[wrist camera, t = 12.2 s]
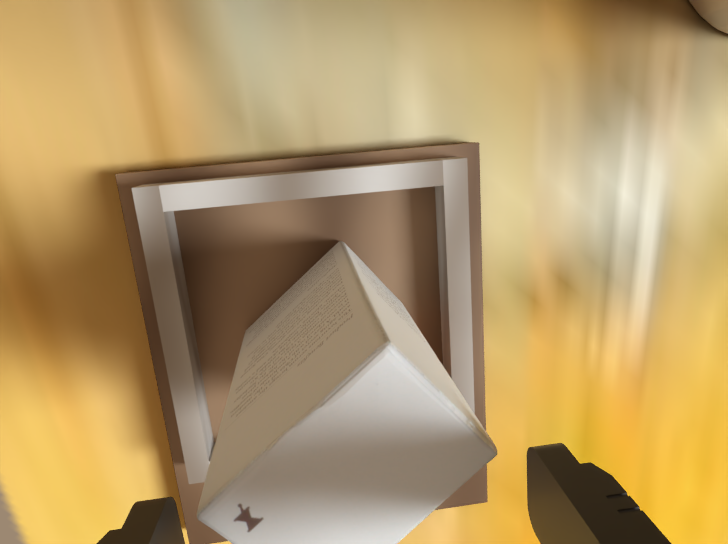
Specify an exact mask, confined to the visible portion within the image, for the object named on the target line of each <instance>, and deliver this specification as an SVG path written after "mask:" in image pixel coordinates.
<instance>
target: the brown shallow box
mask: <svg viewBox="0 0 728 544" xmlns="http://www.w3.org/2000/svg"><path fill="white" fill-rule="evenodd" d="M115 176H116V181H117V186H118V191H119V196H120V201H121V206H122V211H123V216H124V221H125V226H126V231H127V236H128V241H129V246H130V251H131V256H132V261H133V266H134V271H135V276H136V280H137V285H138V290H139V295H140V300H141V305H142V310H143V315H144V320H145V325H146V330H147V335H148V340H149V345H150V350H151V355H152V360H153V365H154V370H155V375H156V380H157V385H158V390H159V395H160V400H161V405H162V410H163V415H164V420H165V425H166V430H167V435H168V440H169V445H170V450H171V455H172V460H173V465H174V470H175V475H176V479H177V484H178V489H179V494H180V499H181V504H182V509H183V514H184V519H185V524H186V529H187V534H188V539H189V544H211V543H217V542H224V541H228V540H227V539H225V538H224V537H223V536H221V535H220V534H218V533H217V532H215V531H214V530H213V529H211V528H210V527H208V526H207V525H206V524H204V523H202V522H201V521H199V520H198V519H197V510H198V506H199V502H200V498H201V495H202V491H203V487H204V483H205V479H206V475H207V471H208V468H209V464H210V460H211V457H212V453H213V450H214V446H215V443H216V439H217V435H218V432H219V428H220V424H221V421H222V417H223V413H224V409H225V406H226V402H227V398H228V395H229V391H230V387H231V384H232V380H233V376H234V372H235V368H236V364H237V360H238V356H239V353H240V349H241V346H242V342H243V338H244V335H245V331H246V330H247V329H248V328H249V327H250V326H251V325H252V324H253V323H254V322H255V321H256V320H257V319H258V318H259V317H260V316H261V315H262V314H263V313H265V312H266V311H267V310H268V309H269V308H270V307H271V306H272V305H273V304H274V303H275V302H276V301H277V300H278V299H279V298H280V297H281V296H282V295H283V294H284V293H285V292H286V291H288V290H289V289H290V288H291V287H292V286H293V285H294V284H295V283H296V282H297V281H298V280H299V279H300V278H301V277H302V276H303V275H304V274H305V273H306V272H307V271H308V270H309V269H311V268H312V267H313V266H314V265H315V264H316V263H317V262H318V261H319V260H320V259H321V258H322V257H323V256H324V255H325V254H326V253H327V252H328V251H329V250H330V249H332V248H333V247H334V246H335V245H336V244H337V243H338V242H339V241H342V242H344V243H345V244H346V245H347V246H348V247H349V248H350V249H351V250H352V251H353V252H354V253H355V254H356V255H357V256H358V257H359V258H360V259H361V260H362V261H363V262H364V264H365V265H366V266H367V267H368V268H369V269H370V270H371V271H372V272H373V273H374V274H375V275H376V276H377V277H378V278H379V279H380V281H381V282H382V283H383V284H384V285H385V286H386V287H387V288H388V289H389V290H390V291H391V292H392V293H393V294H394V295H395V296H396V297H397V298H398V299H399V300H400V301H401V302H402V304H403V305H404V307H405V308H406V310H407V311H408V313H409V314H410V316H411V317H412V319H413V321H414V322H415V324H416V325H417V327H418V328H419V330H420V331H421V333H422V334H423V336H424V337H425V339H426V341H427V342H428V344H429V345H430V347H431V348H432V350H433V351H434V353H435V354H436V356H437V358H438V359H439V361H440V362H441V364H442V365H443V367H444V368H445V370H446V371H447V373H448V374H449V376H450V377H451V379H452V380H453V382H454V383H455V385H456V387H457V388H458V389H459V391H460V392H461V394H462V396H463V397H464V399H465V400H466V402H467V403H468V405H469V407H470V408H471V410H472V411H473V413H474V414H475V416H476V417H477V418H478V420H479V422H480V423H481V425H482V426H483V428H484V429H485V431H486V418H485V375H484V332H483V289H482V246H481V203H480V160H479V143H473V142H470V143H458V144H447V145H435V146H424V147H412V148H400V149H389V150H377V151H366V152H354V153H343V154H331V155H320V156H308V157H297V158H285V159H274V160H262V161H251V162H239V163H228V164H216V165H205V166H193V167H182V168H170V169H159V170H147V171H136V172H125V173H119V174H115ZM484 502H487V464H486V465H485V466H483V467H482V468H481V469H480V470H479V471H478V472H476V473H475V474H474V475H473V476H472V477H471V478H470V479H469V480H468V481H466V482H465V483H464V484H463V485H462V486H461V487H460V488H459V489H457V490H456V491H455V492H454V493H453V494H452V495H451V496H450V497H448V498H447V499H446V500H445V501H444V502H443V503H442V504H441V505H439V506H438V507H437V508H436V509H435V510H438V509H444V508H451V507H458V506H464V505H471V504H478V503H484Z"/></svg>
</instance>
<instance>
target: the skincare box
mask: <svg viewBox="0 0 728 544" xmlns="http://www.w3.org/2000/svg"><path fill="white" fill-rule="evenodd" d="M496 455H497V449H496V447H495V445H494V443H493V441H492V440H491V438H490V437H489V435H488V434H487V432H486V431H485V429H484V428H483V426H482V425H481V423H480V422H479V420H478V418H477V417H476V416H475V414H474V413H473V411H472V410H471V408H470V407H469V405H468V403H467V402H466V400H465V399H464V397H463V396H462V394H461V392H460V391H459V389H458V388H457V387H456V385H455V383H454V382H453V380H452V379H451V377H450V376H449V374H448V373H447V371H446V370H445V368H444V367H443V365H442V364H441V362H440V361H439V359H438V358H437V356H436V354H435V353H434V351H433V350H432V348H431V347H430V345H429V344H428V342H427V341H426V339H425V337H424V336H423V334H422V333H421V331H420V330H419V328H418V327H417V325H416V324H415V322H414V321H413V319H412V317H411V316H410V314H409V313H408V311H407V310H406V308H405V307H404V305H403V304H402V302H401V301H400V300H399V299H398V298H397V297H396V296H395V295H394V294H393V293H392V292H391V291H390V290H389V289H388V288H387V287H386V286H385V285H384V284H383V283H382V282H381V281H380V279H379V278H378V277H377V276H376V275H375V274H374V273H373V272H372V271H371V270H370V269H369V268H368V267H367V266H366V265H365V264H364V262H363V261H362V260H361V259H360V258H359V257H358V256H357V255H356V254H355V253H354V252H353V251H352V250H351V249H350V248H349V247H348V246H347V245H346V244H345V243H344V242H342V241H339V242H338V243H337V244H336V245H335V246H334V247H333V248H332V249H330V250H329V251H328V252H327V253H326V254H325V255H324V256H323V257H322V258H321V259H320V260H319V261H318V262H317V263H316V264H315V265H314V266H313V267H312V268H311V269H309V270H308V271H307V272H306V273H305V274H304V275H303V276H302V277H301V278H300V279H299V280H298V281H297V282H296V283H295V284H294V285H293V286H292V287H291V288H290V289H289V290H288V291H286V292H285V293H284V294H283V295H282V296H281V297H280V298H279V299H278V300H277V301H276V302H275V303H274V304H273V305H272V306H271V307H270V308H269V309H268V310H267V311H266V312H265V313H263V314H262V315H261V316H260V317H259V318H258V319H257V320H256V321H255V322H254V323H253V324H252V325H251V326H250V327H249V328H248V329H247V330H246V331H245V335H244V338H243V342H242V346H241V349H240V353H239V356H238V360H237V364H236V368H235V372H234V376H233V380H232V384H231V387H230V391H229V395H228V398H227V402H226V406H225V409H224V413H223V417H222V421H221V424H220V428H219V432H218V435H217V439H216V443H215V446H214V450H213V453H212V457H211V460H210V464H209V468H208V471H207V475H206V479H205V483H204V487H203V491H202V495H201V498H200V502H199V506H198V510H197V519H198V520H199V521H201V522H202V523H204V524H206V525H207V526H208V527H210V528H211V529H213V530H214V531H215V532H217V533H218V534H220V535H221V536H223V537H224V538H225V539H227V540H228V541H230V542H231V543H232V544H397V543H398V542H399V541H400V540H402V539H403V538H404V537H405V536H406V535H407V534H408V533H409V532H411V531H412V530H413V529H414V528H415V527H416V526H417V525H418V524H419V523H421V522H422V521H423V520H424V519H425V518H426V517H427V516H428V515H429V514H430V513H432V512H433V511H434V510H435V509H436V508H437V507H438V506H439V505H441V504H442V503H443V502H444V501H445V500H446V499H447V498H448V497H450V496H451V495H452V494H453V493H454V492H455V491H456V490H457V489H459V488H460V487H461V486H462V485H463V484H464V483H465V482H466V481H468V480H469V479H470V478H471V477H472V476H473V475H474V474H475V473H476V472H478V471H479V470H480V469H481V468H482V467H483V466H485V465H486V464H487V463H488V462H489V461H491V460H492V459H493V458H494V457H495V456H496Z"/></svg>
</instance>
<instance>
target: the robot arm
mask: <svg viewBox="0 0 728 544" xmlns="http://www.w3.org/2000/svg"><path fill="white" fill-rule="evenodd" d="M689 1H690V3H691V4H692V5H693V7H694V8H695V9H696V11H697V12H698V13H699V15H700V16H701V17H702V18H704V19H705V20H706V21H707V22H708V23H710V24H711V25H712V26H713V27H715V28H716V29H718V30H720V31H722V32H725V33H727V34H728V0H689ZM527 498H528V511H529V516H530V520H531V524H532V527H533V529H534V532H535V534H536V536H537V538H538V539H539V541H540V543H541V544H671V543H670V542H669V541H668V539H667V538H666V537H665V536H664V535H663V534H662V532H661V531H660V530H659V529H658V528H657V527H656V526H655V524H654V523H653V522H652V521H651V520H650V519H649V518H648V516H647V515H646V514H645V513H644V512H643V511H640V509H639V506H638V505H637V504H636V503H635V501H634V500H633V499H632V498H631V497H630V496H628V495H627V492H626V491H625V490H624V489H623V488H622V487H621V485H620V484H619V483H618V482H617V481H616V480H615V478H614V477H613V476H612V475H610V474H608V473H607V472H605V471H604V470H602V469H600V468H599V467H597V466H595V465H594V464H592V463H591V462H590V463H583V464H580V463H579V462H578V461H577V460H576V458H575V457H574V456H573V455H572V453H571V452H570V451H569V450H568V448H567V447H566V446H565V445H564V444H562V443H557V444H550V445H543V446H536V447H530V448H529V449H528V451H527ZM97 544H185V542H184V537H183V533H182V528H181V524H180V520H179V515H178V511H177V506H176V503H175V500H174V499H173V498H172V497H167V498H160V499H153V500H145V501H138V502H136V503H135V504H134V505H133V507H132V509H131V511H130V513H129V515H128V517H127V519H126V521H125V523H124V525H123V527H122V529H117V530H110V531H109V532H108V533H107V534H106V535H105V536H104V537H103V538H102V539H101V540H100V541H99V542H98V543H97Z"/></svg>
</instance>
